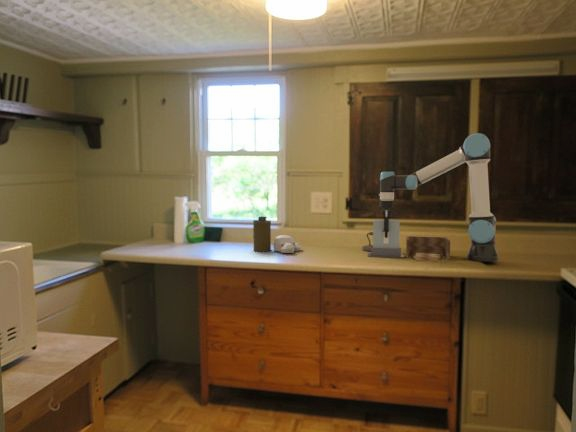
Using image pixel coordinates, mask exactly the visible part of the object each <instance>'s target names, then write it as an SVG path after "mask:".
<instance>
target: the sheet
mask: <svg viewBox="0 0 576 432" xmlns="http://www.w3.org/2000/svg"><path fill="white" fill-rule="evenodd" d="M372 221H373V223H372V224H373V225H372V232H373V235H372V245H373V248H388V249H399V248H400V228H401V227H400V223H401V221H400V220H399V219H398V220H396V219H395V220H394V219H389V231H388V232H389V244H383V243H384V232H383V231H384V219H373V220H372Z"/></svg>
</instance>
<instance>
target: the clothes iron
mask: <svg viewBox="0 0 576 432" xmlns="http://www.w3.org/2000/svg"><path fill="white" fill-rule="evenodd" d="M369 236H373V231H369V232H367V234H366V238H367V241H368V242H369V243H368V244H367V245H363V246H362V247H361V248H362V249H361V250H363V251H366V252H371V247H373V244H372V243H371V240H370V238H369Z"/></svg>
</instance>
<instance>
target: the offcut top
mask: <svg viewBox="0 0 576 432" xmlns="http://www.w3.org/2000/svg"><path fill="white" fill-rule="evenodd" d="M416 256H417V257H434V258H440V254H427V253H416Z"/></svg>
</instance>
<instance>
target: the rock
mask: <svg viewBox="0 0 576 432" xmlns="http://www.w3.org/2000/svg"><path fill="white" fill-rule="evenodd" d="M272 246H273V251H275V252H280V253H282V254H293V253H295V252H299V251H300V249H302V245H300V243H298V242H296V240H295V239H294V237H292V236H291V235H288V234H287V235H286V234H281V235H277V236H276V237H275V238H274V240H273V242H272Z"/></svg>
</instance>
